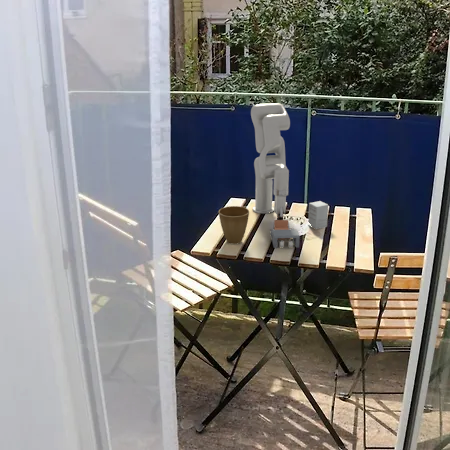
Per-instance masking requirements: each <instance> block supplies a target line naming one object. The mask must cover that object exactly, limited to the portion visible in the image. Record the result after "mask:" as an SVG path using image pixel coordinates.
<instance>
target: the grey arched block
mask: <svg viewBox="0 0 450 450" xmlns="http://www.w3.org/2000/svg"><path fill="white" fill-rule="evenodd" d="M273 230H290V229H289V219H283V220H277V219H273ZM285 239H291V240H292V238H277V241H281V240H283V241H286V240H285Z"/></svg>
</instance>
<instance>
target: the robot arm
mask: <svg viewBox="0 0 450 450" xmlns="http://www.w3.org/2000/svg"><path fill="white" fill-rule="evenodd" d="M250 116H251V117H250V118H251V121H252V123H253V127H254V137H255V148H256V152H257V153H258V154H259V156H258V157H256V158H255V159H254V162H253V167H254V174H255V205H254V206H253V207H252V211H253V212H255V213H256V214H270V213H269V212H271V213H275V215H276V220H284V215H285V214H286V208H287V207H286V206H287V205H286V203H287V200H286V199H287V196H289V179H290V178H289V177H290V174H289V173H290V170H289V169H288V167H287V165H286V147H285V144H286V143H285V140H284V137H282V136H281V131H287V130H289V129H290V127H291V119H290V116H289V114H288V112H287V110H286V108H285V106H284V104H282V103H279V102H278V103H277V102H276V103H273V102H272V103H259V104H258V103H257V104H255V105H253V106H252V107H251V109H250ZM267 154H270V155H267ZM271 154H273V155H271ZM274 154H275V155H274ZM273 196H274V202H273ZM273 203H274V205H273ZM273 211H274V212H273Z"/></svg>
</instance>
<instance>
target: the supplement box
mask: <svg viewBox="0 0 450 450" xmlns="http://www.w3.org/2000/svg"><path fill="white" fill-rule="evenodd" d="M328 213H329V204H328V203H325V202H323V201H321V200H319V201H318V200H317V201H314V202H309V203H308V220H307V221H308V222H309V223H310V224H311V226H312V227H313V229H314V228H315V230H320V229H324V227H325V228H327V227H328V218H329V217H328V215H329V214H328ZM308 222H307V223H308ZM311 226H310V227H311ZM312 227H311V228H312Z"/></svg>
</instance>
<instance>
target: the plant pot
mask: <svg viewBox="0 0 450 450" xmlns="http://www.w3.org/2000/svg"><path fill="white" fill-rule="evenodd" d="M218 216H219V221H220V222H219V223H220V225H221V226H220V227H221V229H222V233H223V235H224V238H225V240H226V242H227V243H228V244H229V245H230V244H231V245H238V244H241V243H242V241H243V240H244V236H245V234H246V230H247V226H248V222H249V216H250V209H248V208H246V207H244V206H238V205H232V206H225V207H222V208H220V209H219V210H218ZM240 242H241V243H240ZM237 243H238V244H237Z"/></svg>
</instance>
